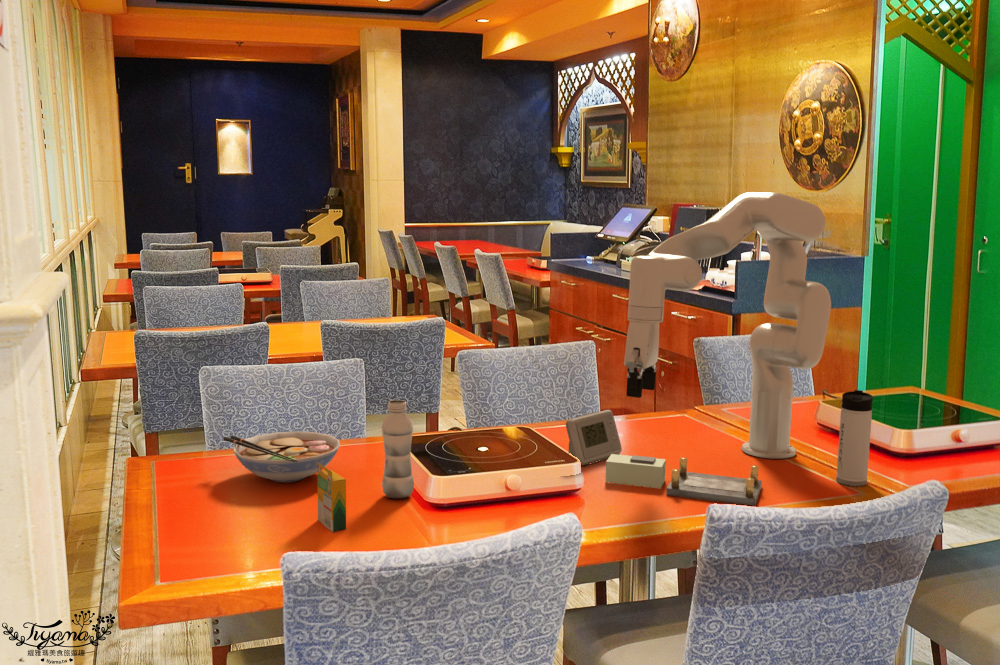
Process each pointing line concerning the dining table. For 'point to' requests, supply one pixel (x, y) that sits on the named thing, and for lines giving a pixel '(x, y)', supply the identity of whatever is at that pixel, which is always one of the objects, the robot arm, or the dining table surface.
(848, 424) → the travel mug
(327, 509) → the crayon box
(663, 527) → the dining table surface
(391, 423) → the plastic bottle
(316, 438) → the ramen bowl
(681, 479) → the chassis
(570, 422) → the digital clock
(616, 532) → the dining table surface
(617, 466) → the cream rectangular block
